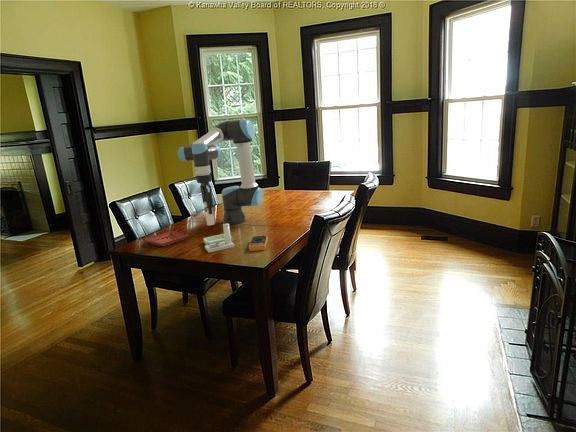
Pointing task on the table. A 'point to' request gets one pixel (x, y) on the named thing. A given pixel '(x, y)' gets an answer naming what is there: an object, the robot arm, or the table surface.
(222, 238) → the parts tray
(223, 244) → the fuse panel
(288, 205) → the table surface
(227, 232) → the fuse
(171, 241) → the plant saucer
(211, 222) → the fuse
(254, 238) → the multimeter
